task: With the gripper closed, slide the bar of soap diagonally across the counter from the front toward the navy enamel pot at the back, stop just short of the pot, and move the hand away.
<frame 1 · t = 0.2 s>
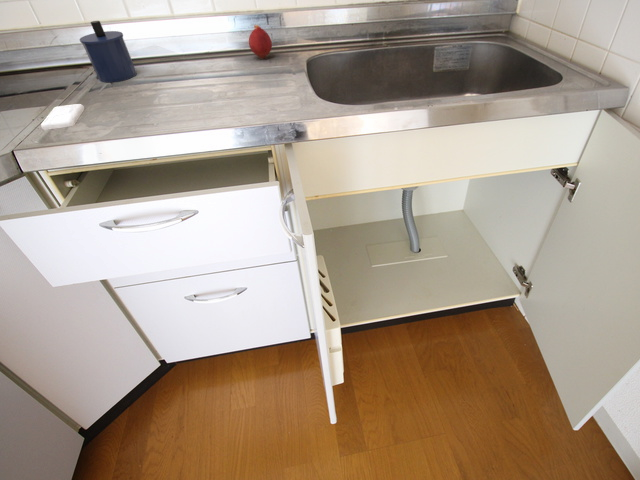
pot: (118, 76, 99), on the counter
pot lid: (102, 38, 93), point 8 cm above the counter, touching pot
soap: (70, 128, 77), on the counter
onion: (263, 59, 105), on the counter
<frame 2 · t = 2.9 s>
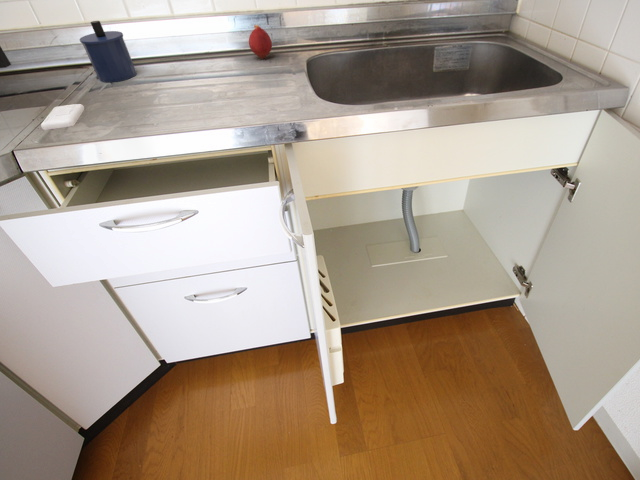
nothing on the counter moved.
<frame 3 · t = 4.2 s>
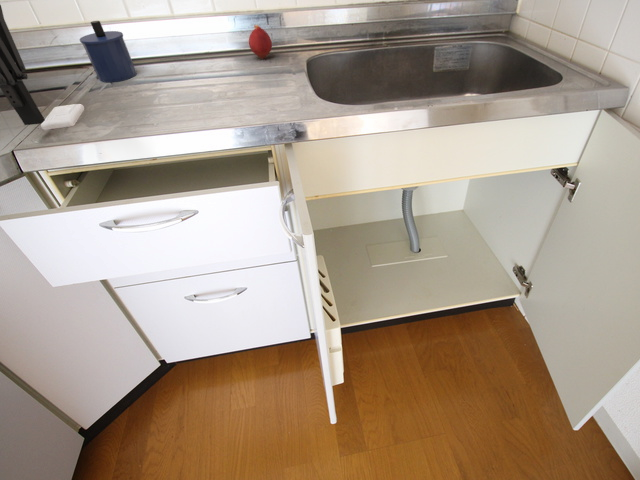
hand: (35, 122, 67), 5 cm above the counter, tool pointing down, fingers closed
nothing on the counter moved.
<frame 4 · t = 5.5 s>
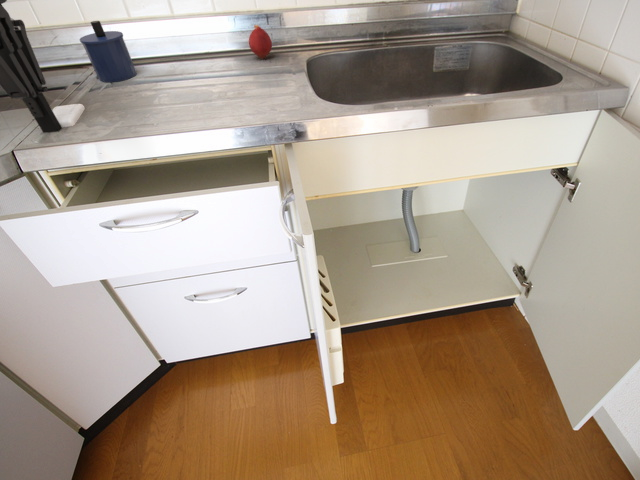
hand: (53, 131, 72), 2 cm above the counter, tool pointing down, fingers closed
soap: (70, 128, 77), on the counter, touching gripper
everything else where it was.
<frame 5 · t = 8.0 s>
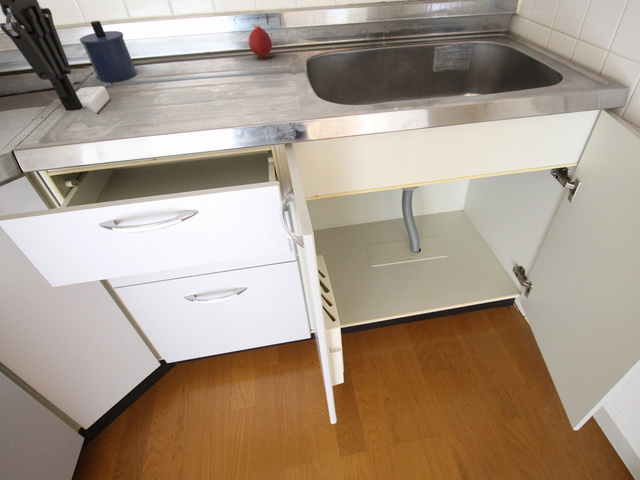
hand: (75, 110, 79), 2 cm above the counter, tool pointing down, fingers closed
soap: (91, 108, 84), on the counter, touching gripper
everything else where it was.
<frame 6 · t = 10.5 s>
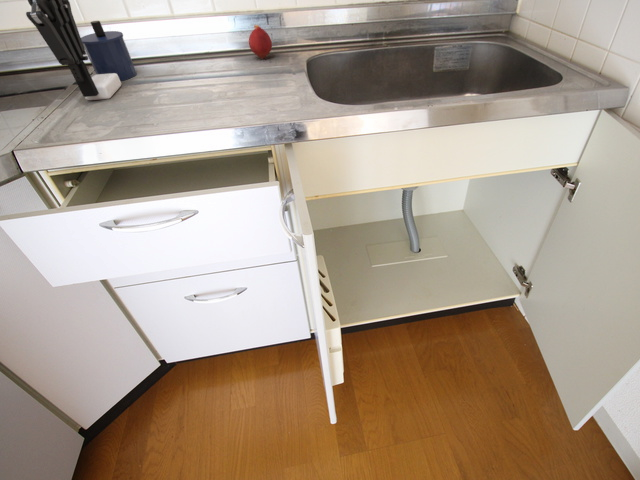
hand: (91, 95, 85), 2 cm above the counter, tool pointing down, fingers closed
soap: (105, 93, 90), on the counter, touching gripper
everything else where it was.
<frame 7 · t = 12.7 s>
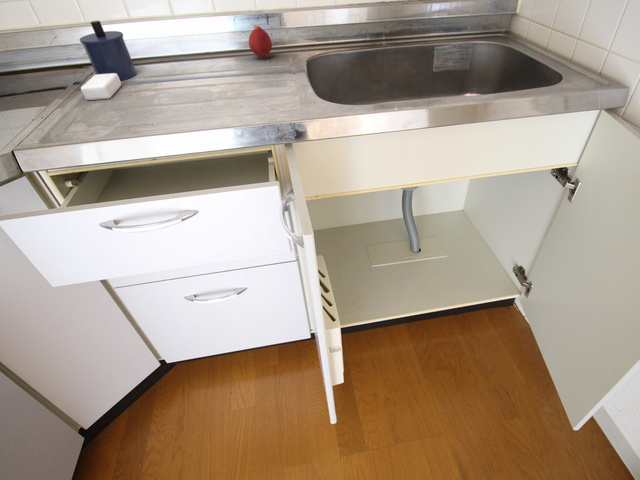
soap: (105, 93, 90), on the counter
everything else where it was.
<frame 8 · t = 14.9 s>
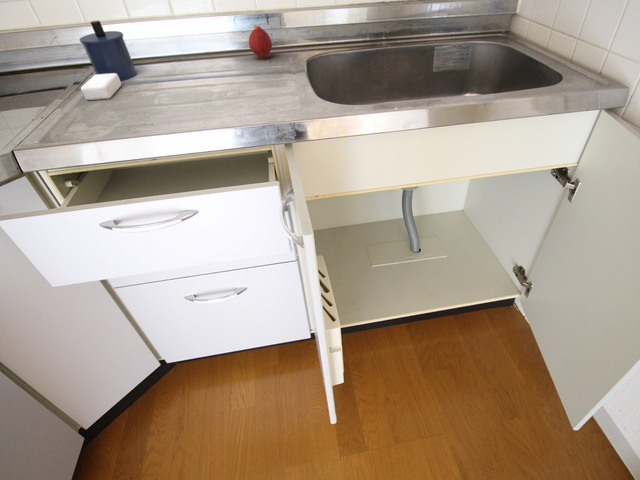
nothing on the counter moved.
at the end: soap 11.8 cm from the pot (horizontally); soap moved 18.6 cm from its start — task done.
